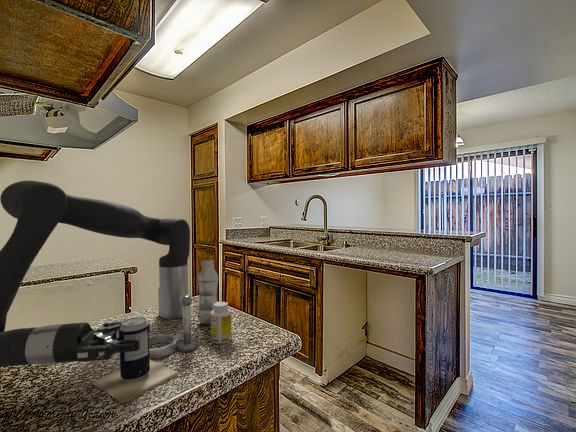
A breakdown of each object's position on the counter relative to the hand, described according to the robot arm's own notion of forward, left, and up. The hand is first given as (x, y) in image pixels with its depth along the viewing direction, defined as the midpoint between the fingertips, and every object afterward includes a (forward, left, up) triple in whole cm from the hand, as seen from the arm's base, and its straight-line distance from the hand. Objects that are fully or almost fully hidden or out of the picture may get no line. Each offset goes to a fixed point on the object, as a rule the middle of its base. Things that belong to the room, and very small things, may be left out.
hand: (144, 336), depth 67 cm
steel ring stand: (-9, +11, -9) cm, 17 cm away
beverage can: (-1, -1, -9) cm, 9 cm away
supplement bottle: (0, +23, -9) cm, 25 cm away
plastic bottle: (-13, +30, -9) cm, 34 cm away
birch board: (-1, -1, -9) cm, 9 cm away
